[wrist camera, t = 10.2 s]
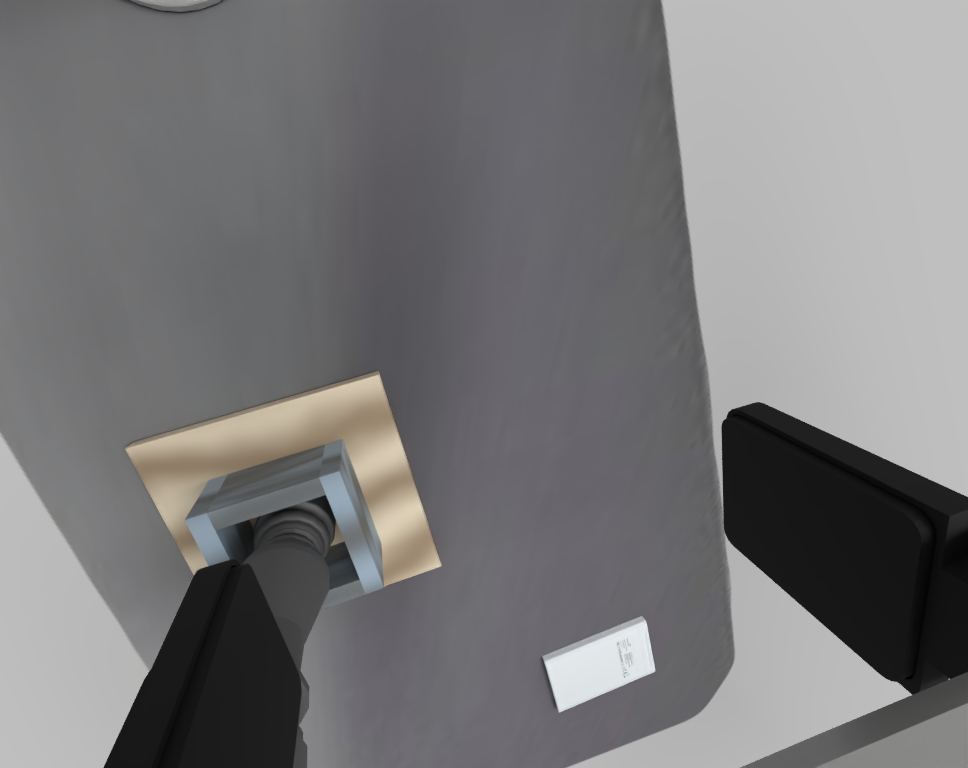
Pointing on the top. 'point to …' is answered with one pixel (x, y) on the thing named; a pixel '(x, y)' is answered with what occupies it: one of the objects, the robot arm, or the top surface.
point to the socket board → (295, 483)
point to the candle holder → (295, 578)
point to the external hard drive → (599, 663)
